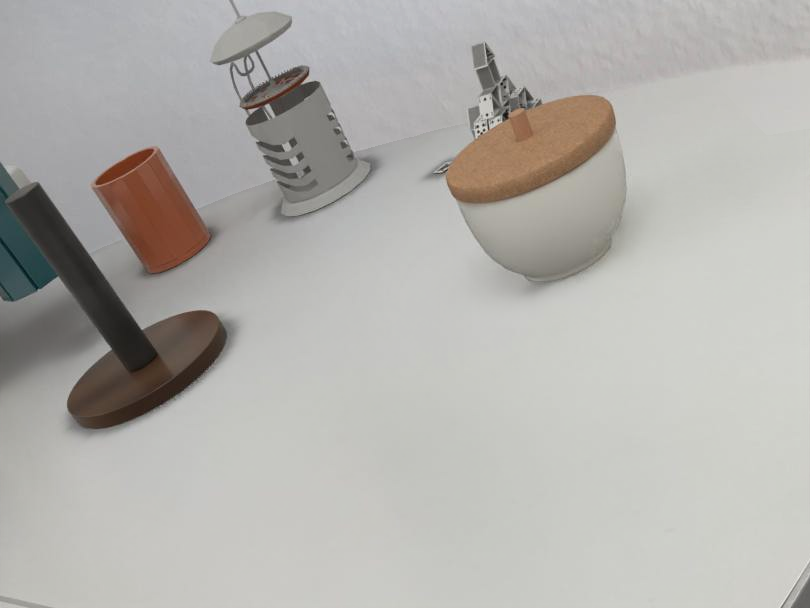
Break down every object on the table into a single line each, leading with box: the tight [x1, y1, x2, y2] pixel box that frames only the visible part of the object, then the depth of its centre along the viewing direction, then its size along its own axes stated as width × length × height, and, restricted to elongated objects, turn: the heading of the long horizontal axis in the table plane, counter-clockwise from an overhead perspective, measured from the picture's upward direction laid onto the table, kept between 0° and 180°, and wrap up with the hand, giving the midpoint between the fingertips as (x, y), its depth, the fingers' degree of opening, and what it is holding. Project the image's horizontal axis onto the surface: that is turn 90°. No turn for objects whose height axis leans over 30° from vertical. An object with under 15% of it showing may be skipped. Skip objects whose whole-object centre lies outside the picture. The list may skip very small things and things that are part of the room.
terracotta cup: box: [90, 145, 212, 274], centre depth 97 cm, size 7×7×9 cm
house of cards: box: [433, 40, 543, 174], centre depth 83 cm, size 9×9×8 cm
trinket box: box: [445, 94, 628, 284], centre depth 62 cm, size 11×11×9 cm
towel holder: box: [5, 181, 228, 430], centre depth 75 cm, size 14×14×15 cm
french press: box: [209, 0, 371, 217], centre depth 88 cm, size 10×12×25 cm
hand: (4, 224), depth 82 cm, fingers closed on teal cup, 7 cm apart
